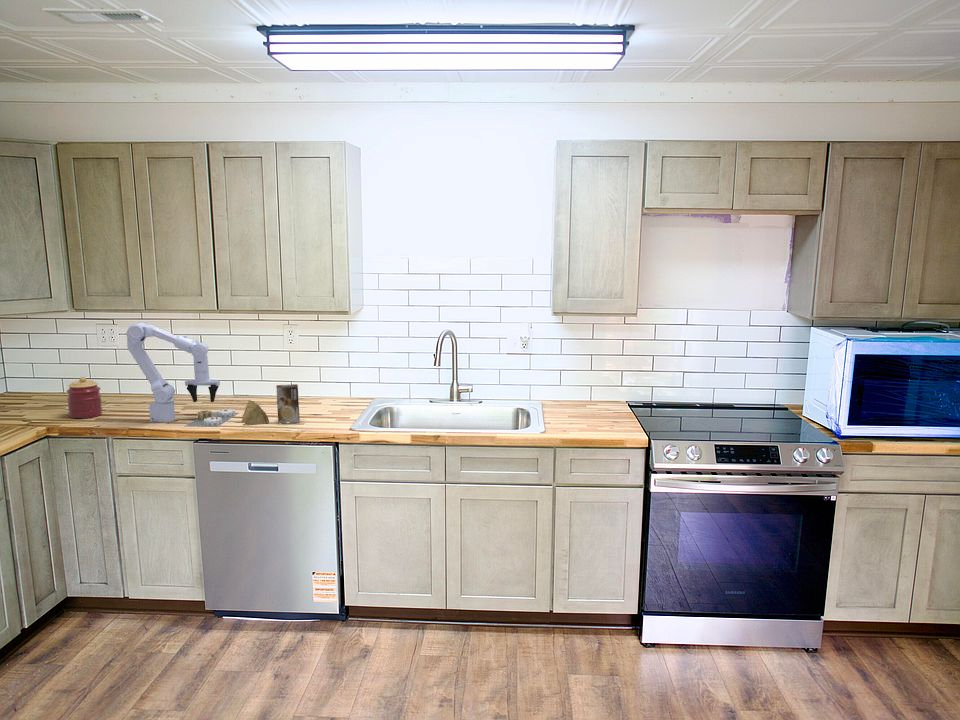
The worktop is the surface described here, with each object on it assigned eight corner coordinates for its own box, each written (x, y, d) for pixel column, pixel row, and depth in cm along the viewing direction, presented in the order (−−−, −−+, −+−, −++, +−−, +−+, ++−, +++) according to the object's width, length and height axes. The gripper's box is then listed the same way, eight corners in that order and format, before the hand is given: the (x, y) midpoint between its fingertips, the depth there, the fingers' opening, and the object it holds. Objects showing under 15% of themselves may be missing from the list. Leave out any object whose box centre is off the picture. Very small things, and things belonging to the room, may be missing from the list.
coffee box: (299, 419, 292) (298, 383, 290) (299, 423, 286) (298, 386, 284) (277, 420, 290) (276, 384, 287) (277, 424, 284) (276, 387, 281)
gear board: (184, 428, 275) (183, 419, 274) (208, 414, 298) (208, 405, 298) (217, 429, 275) (217, 419, 274) (239, 414, 298) (239, 406, 298)
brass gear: (195, 420, 285) (195, 413, 284) (201, 416, 290) (200, 410, 290) (208, 420, 285) (207, 413, 284) (213, 417, 290) (213, 410, 290)
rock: (275, 415, 289) (255, 410, 291) (269, 403, 282) (249, 398, 285) (262, 435, 282) (242, 429, 284) (255, 422, 276) (235, 417, 278)
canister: (92, 410, 302) (89, 372, 299) (108, 414, 296) (105, 376, 293) (62, 416, 291) (59, 377, 288) (78, 420, 285) (75, 380, 282)
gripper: (222, 369, 288) (224, 399, 290) (189, 369, 288) (191, 399, 290) (215, 372, 281) (217, 403, 283) (181, 372, 281) (184, 403, 283)
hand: (203, 401), depth 286 cm, fingers open, 7 cm apart
